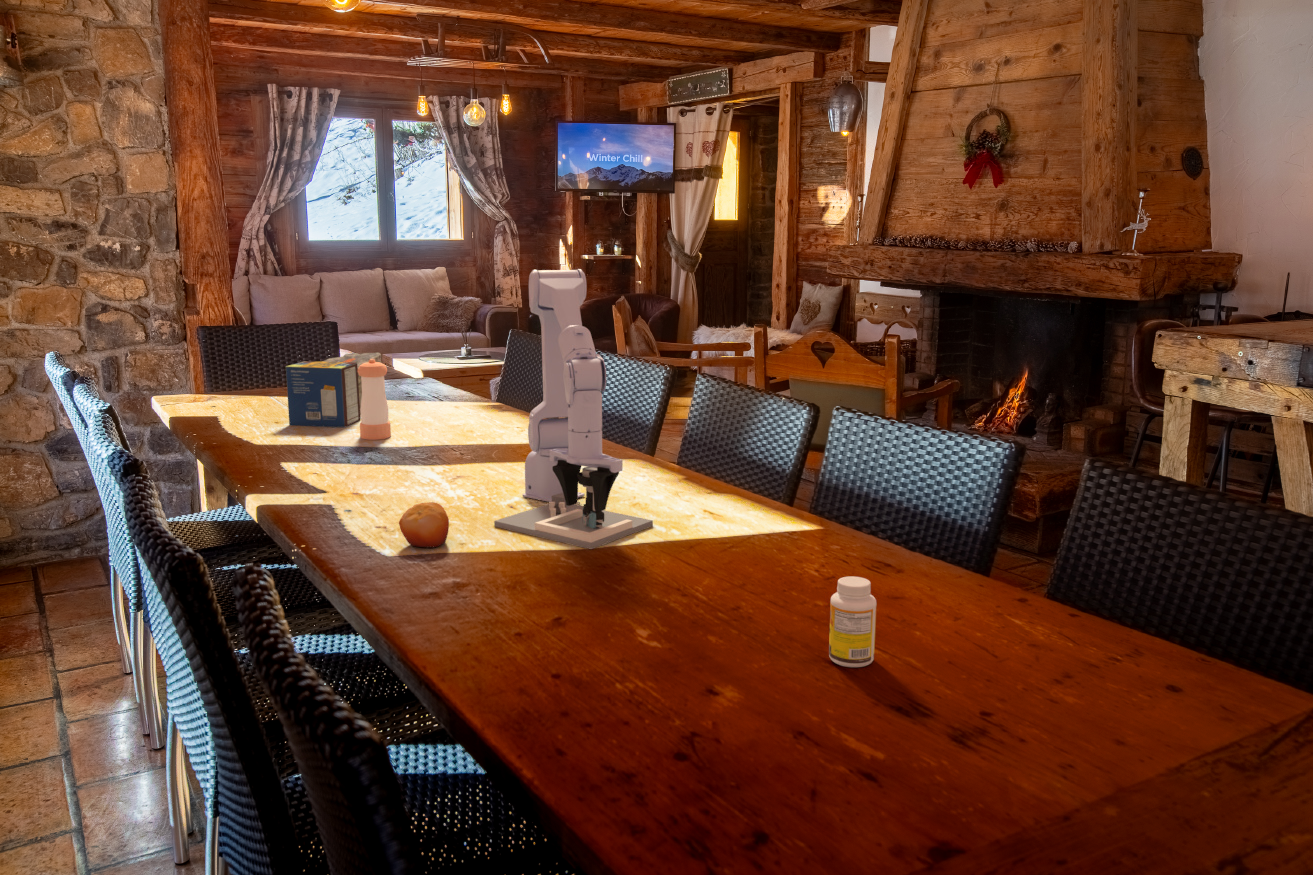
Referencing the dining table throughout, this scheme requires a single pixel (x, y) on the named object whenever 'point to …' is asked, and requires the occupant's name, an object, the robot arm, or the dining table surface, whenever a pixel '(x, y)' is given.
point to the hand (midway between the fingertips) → (585, 507)
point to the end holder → (552, 527)
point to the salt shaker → (373, 402)
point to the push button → (590, 501)
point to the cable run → (557, 505)
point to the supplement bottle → (852, 623)
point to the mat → (570, 525)
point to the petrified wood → (360, 360)
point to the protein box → (323, 394)
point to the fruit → (425, 525)
